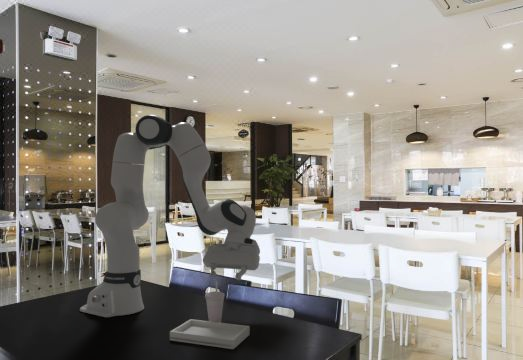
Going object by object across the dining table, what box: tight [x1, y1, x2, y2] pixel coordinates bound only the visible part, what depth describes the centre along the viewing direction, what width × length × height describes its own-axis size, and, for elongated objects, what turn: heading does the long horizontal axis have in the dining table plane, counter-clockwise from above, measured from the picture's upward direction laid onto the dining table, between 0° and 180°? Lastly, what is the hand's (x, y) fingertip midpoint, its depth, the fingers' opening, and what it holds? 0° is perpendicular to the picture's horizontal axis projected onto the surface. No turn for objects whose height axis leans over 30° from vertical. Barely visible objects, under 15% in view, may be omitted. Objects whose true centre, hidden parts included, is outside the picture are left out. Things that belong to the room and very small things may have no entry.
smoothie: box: [204, 280, 226, 323], centre depth 134 cm, size 6×6×14 cm
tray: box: [169, 318, 251, 350], centre depth 123 cm, size 20×12×2 cm, turn 70°
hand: (224, 277), depth 142 cm, fingers open, 8 cm apart
